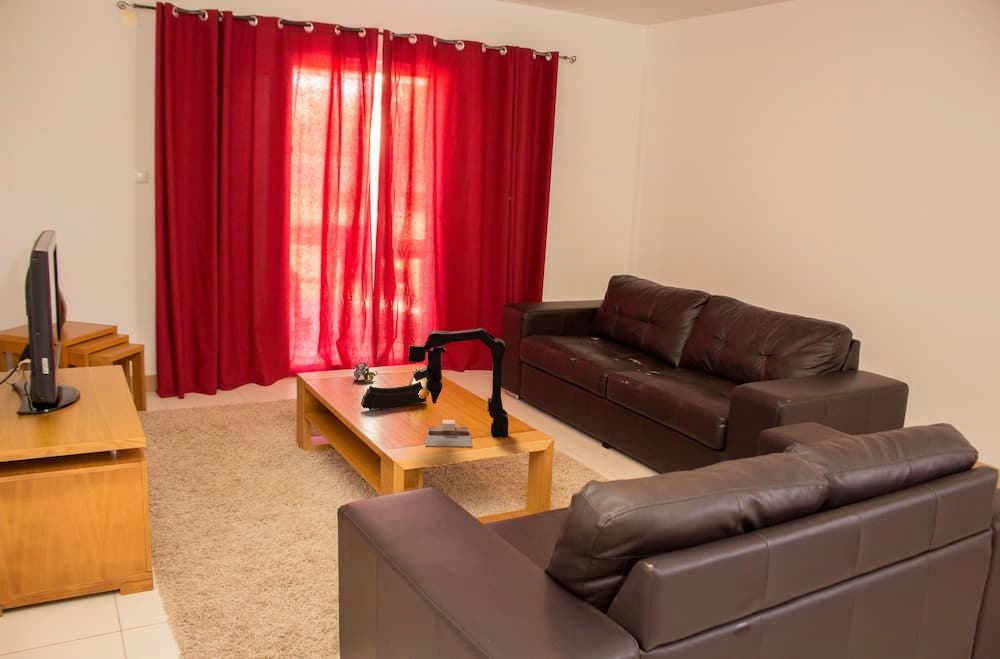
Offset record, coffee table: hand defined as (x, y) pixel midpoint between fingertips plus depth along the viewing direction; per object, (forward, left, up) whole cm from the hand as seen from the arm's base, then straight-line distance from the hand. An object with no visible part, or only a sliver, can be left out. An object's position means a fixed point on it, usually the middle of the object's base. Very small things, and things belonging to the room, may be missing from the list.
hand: (434, 400), depth 330 cm
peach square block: (-6, 0, -12) cm, 14 cm away
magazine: (+18, -34, -14) cm, 41 cm away
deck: (-6, 0, -14) cm, 15 cm away
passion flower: (+35, -77, -14) cm, 86 cm away
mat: (-6, +10, -14) cm, 18 cm away
